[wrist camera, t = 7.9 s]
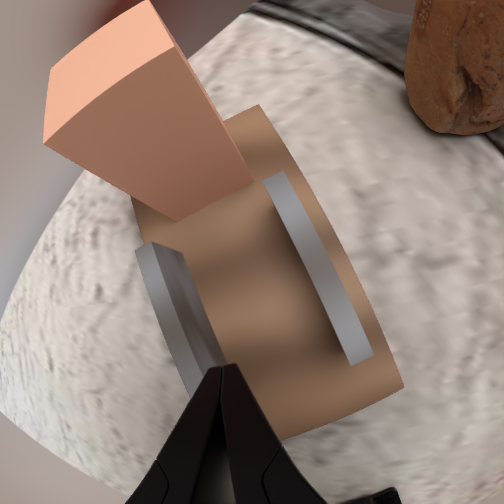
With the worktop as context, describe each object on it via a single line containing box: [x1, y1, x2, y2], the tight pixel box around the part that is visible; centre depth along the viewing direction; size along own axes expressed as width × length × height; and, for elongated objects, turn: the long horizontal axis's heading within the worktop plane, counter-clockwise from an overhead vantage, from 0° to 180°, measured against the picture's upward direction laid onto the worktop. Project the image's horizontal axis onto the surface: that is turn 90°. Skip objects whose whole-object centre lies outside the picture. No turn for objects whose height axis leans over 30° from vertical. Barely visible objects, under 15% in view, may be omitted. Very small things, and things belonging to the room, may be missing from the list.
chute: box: [130, 104, 404, 440], centre depth 17 cm, size 22×12×6 cm, turn 24°
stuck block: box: [43, 0, 254, 222], centre depth 14 cm, size 6×6×12 cm
